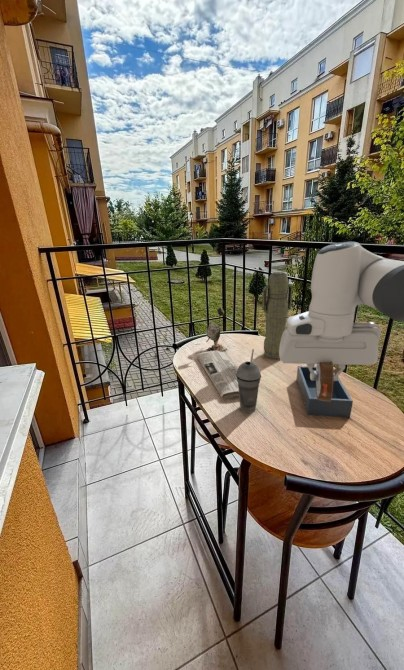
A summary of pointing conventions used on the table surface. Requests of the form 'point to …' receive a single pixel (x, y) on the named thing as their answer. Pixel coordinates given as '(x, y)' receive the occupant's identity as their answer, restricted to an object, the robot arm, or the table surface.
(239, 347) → the table surface
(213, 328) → the plant with pod
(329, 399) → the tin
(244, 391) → the beverage cup
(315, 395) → the bin
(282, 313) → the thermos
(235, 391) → the newspaper
